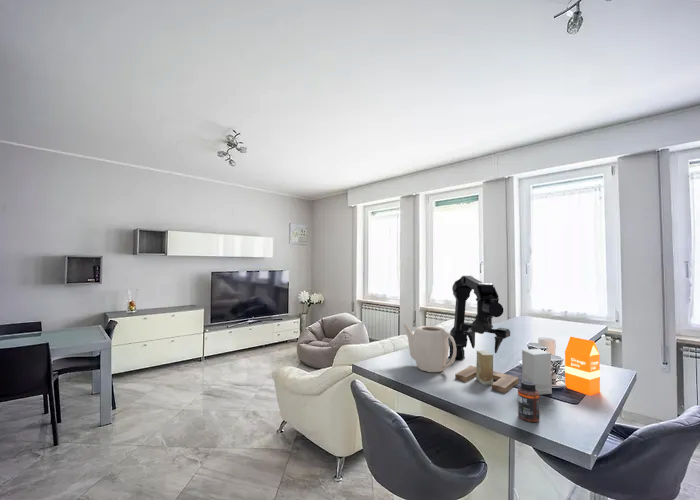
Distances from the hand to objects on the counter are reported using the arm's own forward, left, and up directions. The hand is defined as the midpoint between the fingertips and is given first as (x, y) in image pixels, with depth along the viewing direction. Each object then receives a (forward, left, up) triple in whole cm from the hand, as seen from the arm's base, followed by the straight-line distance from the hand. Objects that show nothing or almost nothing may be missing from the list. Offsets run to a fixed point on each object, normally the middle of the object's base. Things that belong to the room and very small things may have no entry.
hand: (484, 350), depth 130 cm
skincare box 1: (0, 0, -13) cm, 13 cm away
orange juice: (+30, +21, -13) cm, 39 cm away
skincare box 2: (+18, +5, -13) cm, 23 cm away
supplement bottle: (+22, -21, -13) cm, 33 cm away
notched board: (0, +2, -13) cm, 13 cm away
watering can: (-25, -3, -13) cm, 28 cm away
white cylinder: (+15, +34, -13) cm, 40 cm away
